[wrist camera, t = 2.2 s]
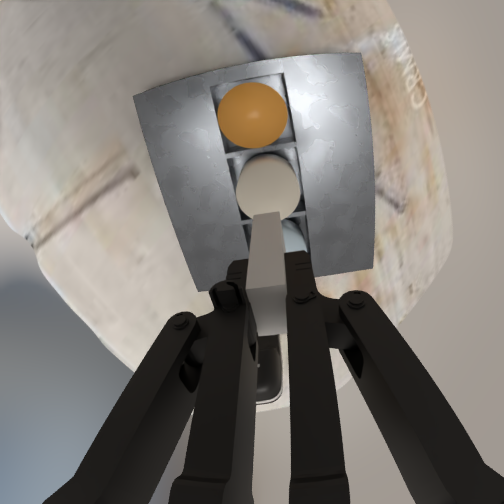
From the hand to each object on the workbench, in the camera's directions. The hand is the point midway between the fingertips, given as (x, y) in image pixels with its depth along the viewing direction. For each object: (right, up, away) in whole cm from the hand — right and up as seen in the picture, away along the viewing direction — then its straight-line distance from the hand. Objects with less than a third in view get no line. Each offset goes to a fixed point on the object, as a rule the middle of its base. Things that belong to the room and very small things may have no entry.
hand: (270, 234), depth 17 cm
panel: (0, +6, +8) cm, 10 cm away
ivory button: (0, +4, +6) cm, 7 cm away
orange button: (-1, +9, +3) cm, 10 cm away
